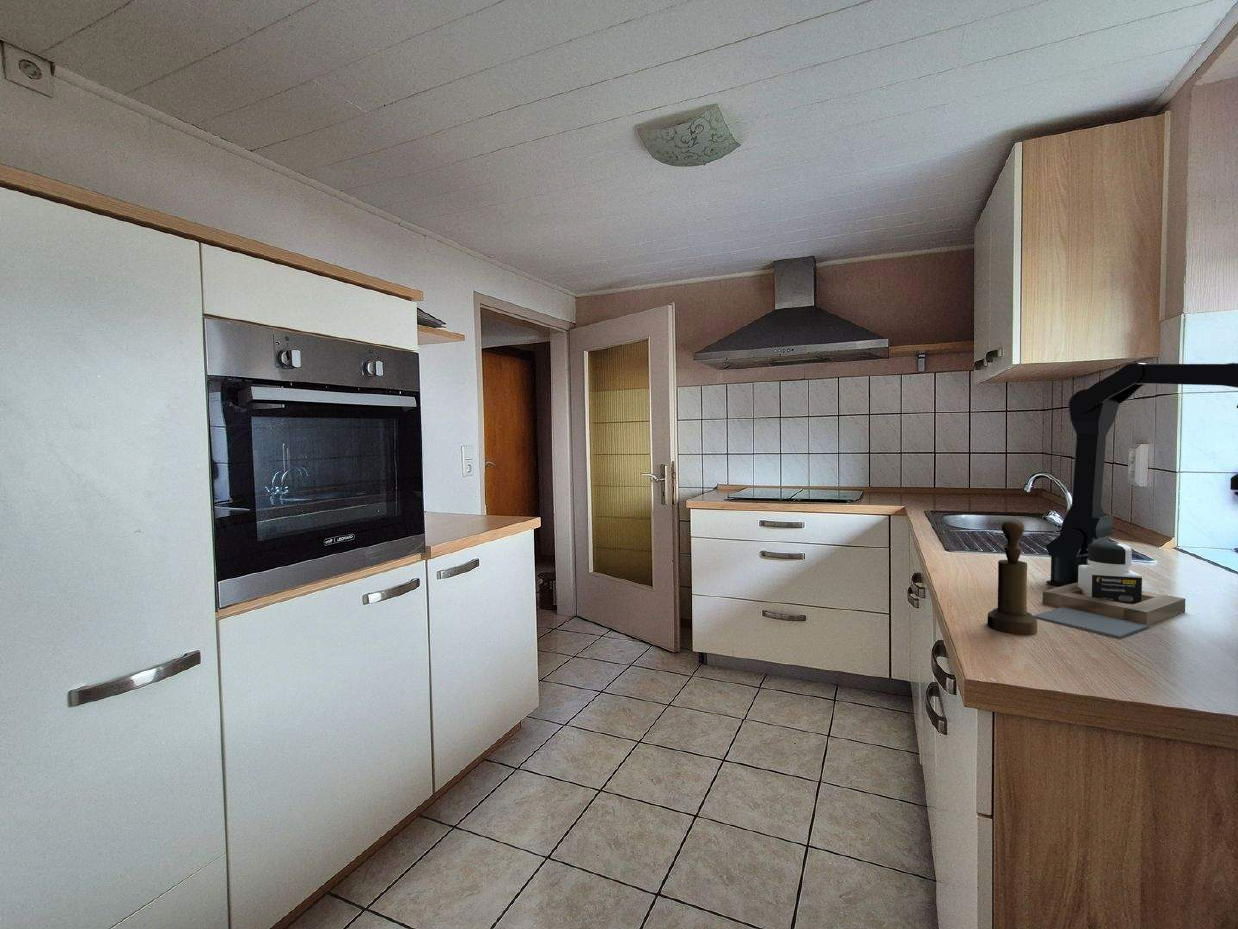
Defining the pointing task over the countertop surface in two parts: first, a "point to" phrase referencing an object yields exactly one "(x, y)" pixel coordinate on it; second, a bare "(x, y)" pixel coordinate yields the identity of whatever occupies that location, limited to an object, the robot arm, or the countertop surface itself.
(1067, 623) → the mat
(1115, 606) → the brown flat square frame
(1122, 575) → the medicine bottle
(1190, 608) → the countertop surface
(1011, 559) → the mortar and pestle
